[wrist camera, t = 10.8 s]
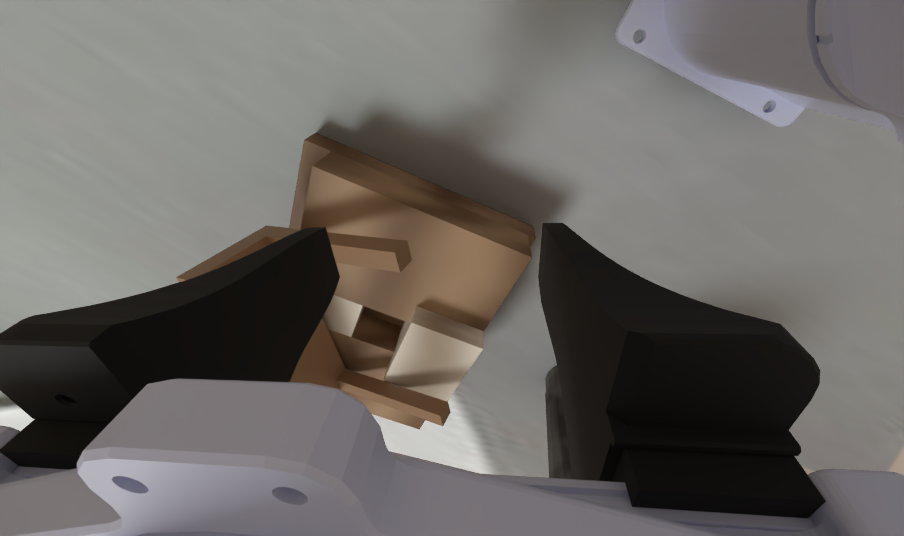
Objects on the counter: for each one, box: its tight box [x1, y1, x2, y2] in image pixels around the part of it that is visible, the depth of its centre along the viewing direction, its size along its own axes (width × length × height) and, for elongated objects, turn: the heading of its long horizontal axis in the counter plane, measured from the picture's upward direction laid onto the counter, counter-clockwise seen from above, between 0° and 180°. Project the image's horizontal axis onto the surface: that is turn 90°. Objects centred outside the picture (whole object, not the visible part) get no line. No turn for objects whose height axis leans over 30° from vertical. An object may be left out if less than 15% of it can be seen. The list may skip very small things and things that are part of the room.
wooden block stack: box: [289, 133, 535, 429], centre depth 24 cm, size 14×18×6 cm
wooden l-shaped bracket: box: [176, 226, 450, 426], centre depth 19 cm, size 9×12×5 cm
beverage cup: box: [545, 366, 572, 479], centre depth 22 cm, size 7×7×20 cm
